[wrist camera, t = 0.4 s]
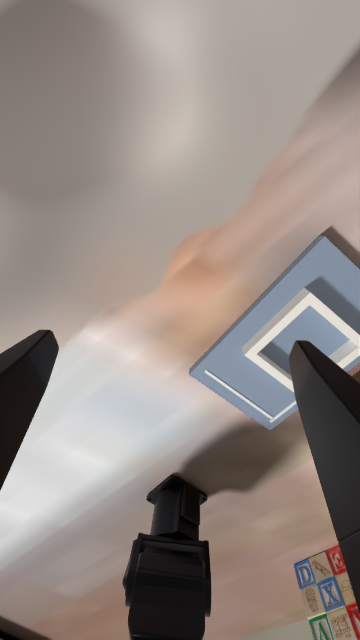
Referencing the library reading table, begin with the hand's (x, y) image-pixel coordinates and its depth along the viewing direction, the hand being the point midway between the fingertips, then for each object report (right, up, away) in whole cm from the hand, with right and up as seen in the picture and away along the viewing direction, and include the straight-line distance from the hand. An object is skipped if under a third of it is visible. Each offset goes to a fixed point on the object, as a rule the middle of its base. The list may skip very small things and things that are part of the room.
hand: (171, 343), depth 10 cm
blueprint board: (+12, -2, +17) cm, 20 cm away
